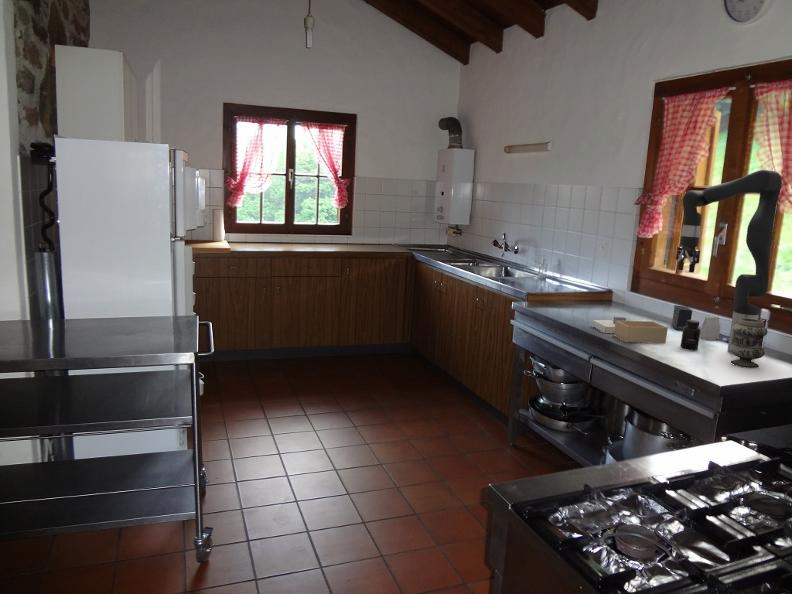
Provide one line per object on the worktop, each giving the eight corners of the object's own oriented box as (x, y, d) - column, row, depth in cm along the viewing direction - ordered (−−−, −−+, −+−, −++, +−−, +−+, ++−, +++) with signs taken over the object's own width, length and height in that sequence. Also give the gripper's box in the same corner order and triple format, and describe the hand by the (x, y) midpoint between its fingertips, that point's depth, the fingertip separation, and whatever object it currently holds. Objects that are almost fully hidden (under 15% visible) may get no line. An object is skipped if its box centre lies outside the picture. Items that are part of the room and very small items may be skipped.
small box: (690, 331, 300) (693, 310, 298) (675, 330, 301) (678, 308, 299) (684, 326, 310) (687, 306, 308) (670, 325, 311) (673, 304, 309)
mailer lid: (645, 334, 287) (647, 321, 286) (604, 333, 285) (606, 320, 284) (631, 327, 301) (632, 314, 299) (592, 326, 298) (593, 313, 297)
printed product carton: (718, 340, 285) (721, 318, 283) (705, 340, 284) (708, 318, 282) (712, 337, 288) (716, 316, 287) (699, 337, 287) (703, 316, 285)
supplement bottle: (687, 350, 262) (691, 322, 259) (676, 346, 268) (680, 319, 266) (701, 350, 263) (705, 322, 261) (690, 346, 270) (694, 319, 268)
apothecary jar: (750, 361, 251) (757, 317, 247) (769, 370, 239) (776, 324, 236) (720, 359, 250) (727, 315, 247) (738, 368, 238) (745, 322, 235)
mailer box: (665, 343, 273) (667, 327, 272) (626, 342, 270) (628, 326, 269) (651, 336, 284) (653, 321, 283) (613, 335, 282) (615, 320, 281)
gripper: (707, 237, 275) (702, 273, 278) (688, 234, 289) (684, 269, 292) (692, 236, 274) (687, 273, 277) (673, 233, 288) (669, 268, 291)
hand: (685, 271), depth 285 cm, fingers open, 8 cm apart
